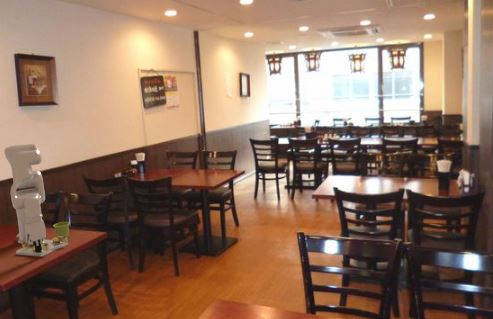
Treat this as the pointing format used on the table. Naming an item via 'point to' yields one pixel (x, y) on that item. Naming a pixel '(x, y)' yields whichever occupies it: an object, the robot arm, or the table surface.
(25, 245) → the knob near
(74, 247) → the table surface
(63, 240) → the knob
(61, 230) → the plant pot
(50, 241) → the base plate
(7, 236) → the table surface
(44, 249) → the knob
